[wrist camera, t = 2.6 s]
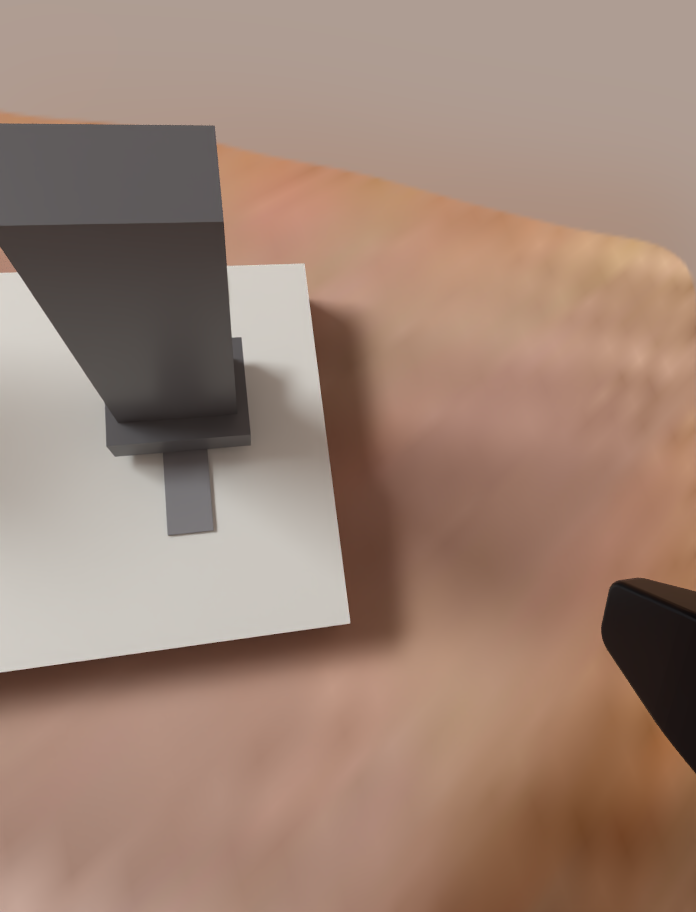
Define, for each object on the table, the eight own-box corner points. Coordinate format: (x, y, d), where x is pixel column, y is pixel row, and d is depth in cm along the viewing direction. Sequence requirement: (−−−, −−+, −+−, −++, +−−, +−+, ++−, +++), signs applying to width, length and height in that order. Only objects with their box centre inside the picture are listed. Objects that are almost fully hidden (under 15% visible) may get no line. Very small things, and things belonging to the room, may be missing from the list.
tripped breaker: (250, 445, 17) (249, 259, 8) (115, 456, 16) (-41, 267, 8) (242, 352, 18) (232, 92, 9) (111, 360, 17) (-35, 87, 8)
